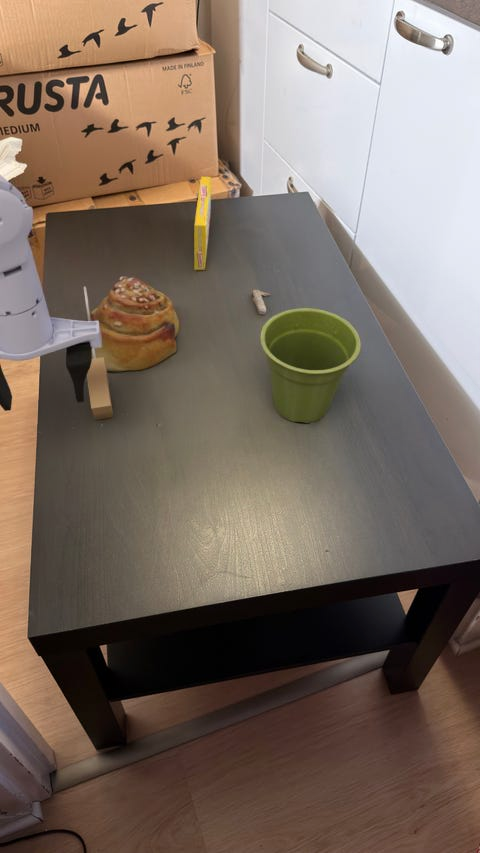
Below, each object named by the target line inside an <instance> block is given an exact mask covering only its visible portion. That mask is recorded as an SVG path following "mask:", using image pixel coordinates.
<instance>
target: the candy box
mask: <svg viewBox="0 0 480 853" xmlns="http://www.w3.org/2000/svg"><path fill="white" fill-rule="evenodd" d="M211 214H212V178H211V176H200V182H199V187H198V195H197V203H196V211H195V217H194V225H193V229H194V231H193V232H194V234H193V235H194V236H193V237H194V238H193V239H194V242H193V244H194V247H193V248H194V250H193V252H194V253H193V254H194V256H193V257H194V263H193V264H194V265H193V266H194V268H193V269H194V271H206V262H207V254H208V244H209V235H210V224H211V216H212V215H211Z"/></svg>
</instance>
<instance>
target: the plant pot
mask: <svg viewBox="0 0 480 853" xmlns="http://www.w3.org/2000/svg"><path fill="white" fill-rule="evenodd" d="M259 337H260V338H259V339H260V344H261V348H262V349H263V351H264V352H265V355H266V359H267V360H266V361H267V362H268V367H269V368H268V369H269V375H270V376H269V377H270V383H271V384H270V385H271V391H272V392H271V393H272V401H273V406H274V408H275V410H276V412H277V413H278V414H279V415H280V416H281V417H282V418H283V419H285V420H287V421H289V422H293V423H305V424H311V423H314V422H316V421H320V419H322V418H323V417H324V416H325V415H326V414H327V413H328V410H329V408H330V406H331V404H332V401H333V400H334V397H335V394H336V392H337V390H338V387H339V386H340V384H341V381H342V379H343V377H344V374H345V373H346V372H347V371H348V368H349V367H350V365H351V364H352V363H354V361H355V360H356V359H357V357H358V356H359V354H360V351H361V346H362V345H361V344H362V343H361V339H360V338H361V337H360V336H359V333H358V331H357V330H356V329H355V327H353V325H352V324H351V323H350V322H349V321H347V320H346V319H345V318H343V317H341V316H340V315H337V314H335V313H333V312H330V311H327V310H324V309H318V308H310V307H301V308H293V309H287V310H284V311H281V312H279V313H277V314H275V315H273V316H272V317H270V318H269V319H268V320H267V321H266V322H265V323H264V324H263V326H262V328H261V331H260V336H259Z"/></svg>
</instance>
